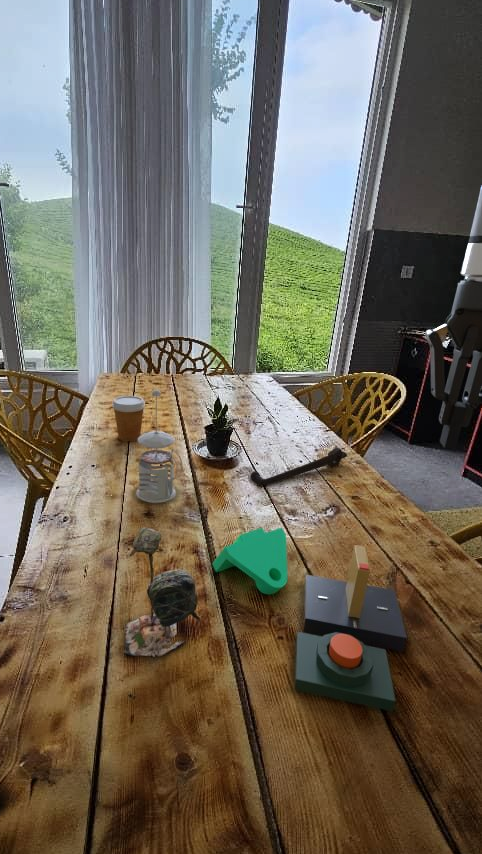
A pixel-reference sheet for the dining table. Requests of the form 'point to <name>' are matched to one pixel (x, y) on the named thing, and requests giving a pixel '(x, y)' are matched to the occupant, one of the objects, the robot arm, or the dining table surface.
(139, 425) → the disposable coffee cup
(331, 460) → the wrench
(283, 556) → the camera mount
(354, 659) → the release button
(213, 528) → the dining table surface
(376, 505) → the dining table surface
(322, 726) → the dining table surface
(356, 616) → the olive tan box
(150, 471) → the french press
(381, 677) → the box
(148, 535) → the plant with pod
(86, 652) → the dining table surface
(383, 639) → the black flat block
